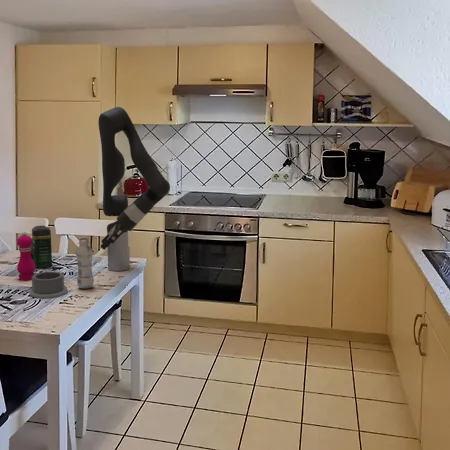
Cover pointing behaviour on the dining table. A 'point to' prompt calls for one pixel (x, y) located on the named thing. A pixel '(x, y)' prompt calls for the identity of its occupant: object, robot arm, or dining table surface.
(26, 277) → the pepper mill
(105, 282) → the dining table surface
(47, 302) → the dining table surface
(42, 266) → the coffee jar
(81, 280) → the plastic bottle
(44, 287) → the bottle holder
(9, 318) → the dining table surface
